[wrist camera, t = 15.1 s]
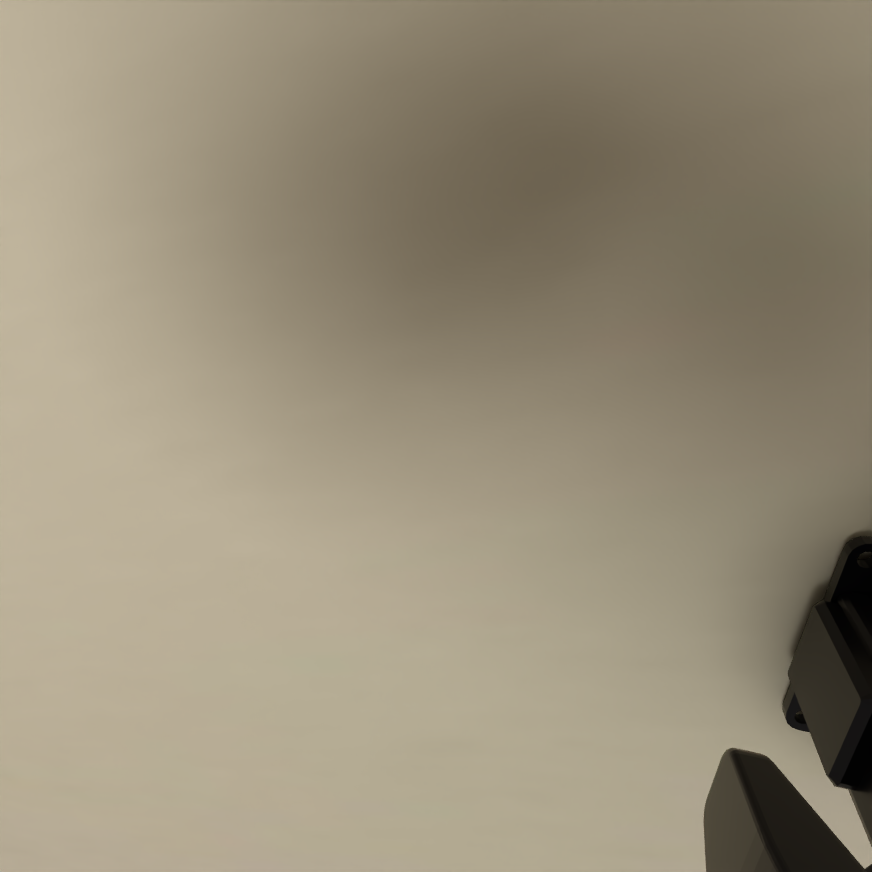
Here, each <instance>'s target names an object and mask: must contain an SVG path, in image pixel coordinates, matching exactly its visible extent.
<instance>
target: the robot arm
mask: <svg viewBox="0 0 872 872" xmlns="http://www.w3.org/2000/svg"><path fill="white" fill-rule="evenodd" d="M864 552H872V537H867V536H860V537H857V538H854V539H852V540H851V541H849V542H848V543H847V544H846V545H845V547H844V548H843V551H842V553H841V556H840V558H839V561H838V564H837V566H836V569H835V571H834V574H833V576H832V579H831V582H830V584H829V587H828V589H827V592H826V594H825V597H824V600H822V601H820V602H818V603H817V604H816V605H814V606H813V608H812V610H811V613H810V616H809V618H808V621H807V623H806V626H805V629H804V631H803V634H802V636H801V639H800V642H799V644H798V647H797V649H796V652H795V655H794V657H793V660H792V662H791V665H790V668H789V670H788V676H789V679H790V682H791V684H790V687H789V689H788V692H787V695H786V697H785V700H784V702H783V707H782V710H783V713H784V715H785V718H786V721H787V723H788V724H789V725H790V726H791V727H792V728H795V729H798V730H802V731H806V732H810V734H811V736H812V739H813V741H814V744H815V747H816V749H817V752H818V754H819V757H820V760H821V762H822V765H823V767H824V770H825V773H826V775H827V776H828V778H829V779H830V781H831V782H832V783H833V785H834V786H836V787H840V788H845V789H848V790H849V792H850V795H851V797H852V800H853V802H854V805H855V807H856V810H857V812H858V814H859V817H860V819H861V822H862V824H863V827H864V829H865V832H866V834H867V836H868V839H869V841H870V844H871V846H872V555H871V556H870V558H868V559H866V560H857V558H858V557H859V555H860V554H862V553H864ZM801 710H802V713H803V714H796V713H797V712H798V711H801ZM704 839H705V857H706V872H872V864H871V865H870V866H868V867H867V868H866V869H864V868H863V867H862V866H861V865H860V863H859V862H858V861H857V860H856V859H855V858H854V856H853V855H852V854H851V853H850V852H849V850H848V849H847V848H846V847H845V846H844V845H843V843H842V842H841V841H840V840H839V839H838V838H837V836H836V835H835V834H834V833H833V832H832V831H831V829H830V828H829V827H828V826H827V825H826V824H825V822H824V821H823V820H822V819H821V818H820V817H819V815H818V814H817V813H816V812H815V811H814V810H813V808H812V807H811V806H810V805H809V804H808V803H807V801H806V800H805V799H804V798H803V797H802V795H801V794H800V793H799V792H798V791H797V790H796V788H795V787H794V786H793V785H792V784H791V783H790V781H789V780H788V779H787V778H786V777H785V776H784V774H783V773H782V772H781V771H780V770H779V769H778V767H777V766H776V765H775V764H774V763H773V762H772V761H771V760H770V759H769V758H768V757H767V756H765V755H763V754H759V753H755V752H750V751H746V750H741V749H737V748H730V749H728V750H726V751H725V753H724V754H723V756H722V758H721V761H720V763H719V766H718V769H717V772H716V774H715V777H714V780H713V783H712V786H711V788H710V791H709V794H708V797H707V800H706V804H705V809H704Z"/></svg>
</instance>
